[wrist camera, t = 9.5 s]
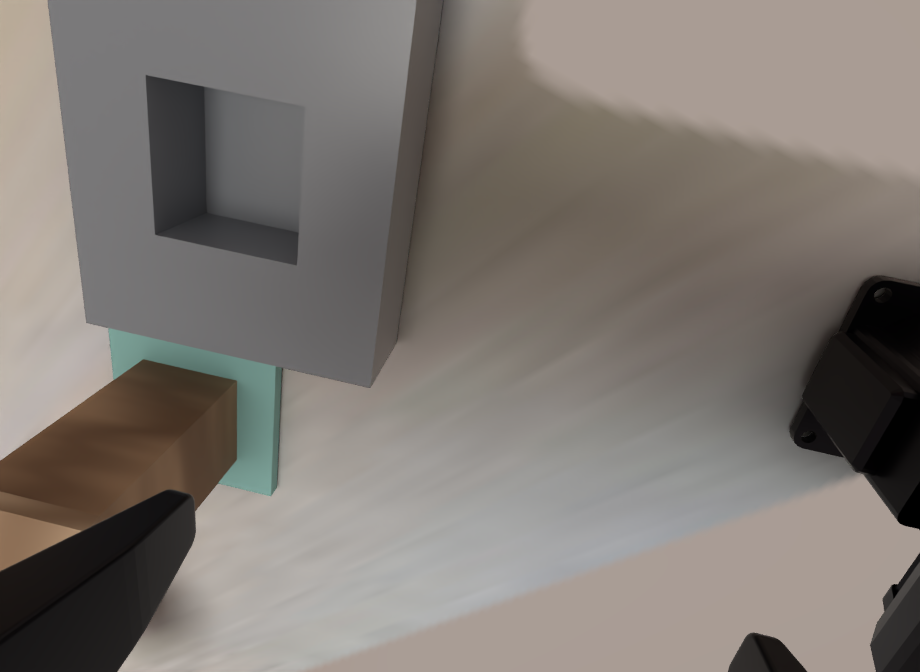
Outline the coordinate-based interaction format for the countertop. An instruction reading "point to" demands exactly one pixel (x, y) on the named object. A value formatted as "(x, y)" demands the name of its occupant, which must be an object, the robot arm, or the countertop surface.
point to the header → (247, 170)
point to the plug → (117, 455)
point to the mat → (253, 401)
